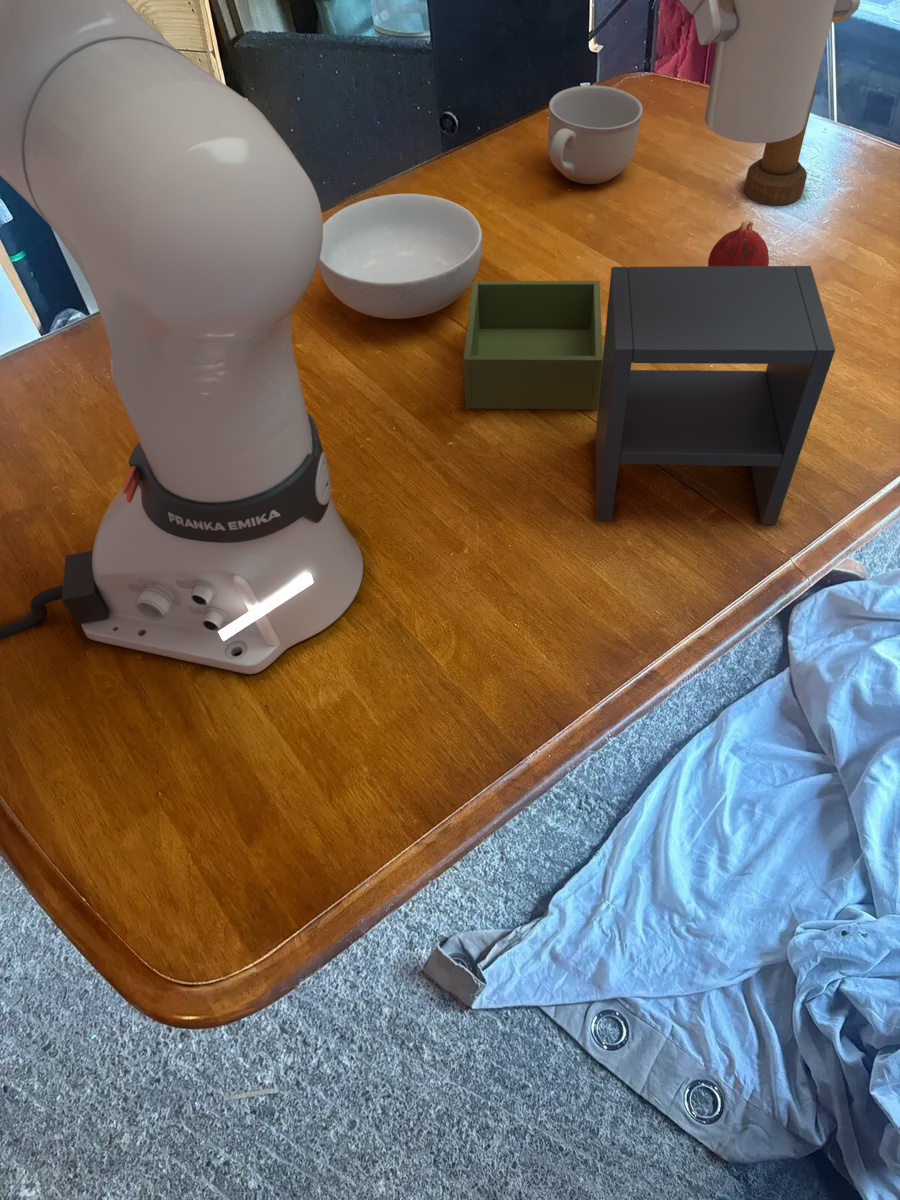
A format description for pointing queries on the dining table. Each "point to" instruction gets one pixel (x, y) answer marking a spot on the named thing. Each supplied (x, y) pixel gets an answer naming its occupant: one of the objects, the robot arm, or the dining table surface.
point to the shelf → (711, 373)
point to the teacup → (592, 132)
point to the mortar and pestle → (778, 172)
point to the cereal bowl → (400, 254)
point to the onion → (740, 248)
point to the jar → (768, 69)
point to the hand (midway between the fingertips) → (780, 27)
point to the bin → (533, 345)
